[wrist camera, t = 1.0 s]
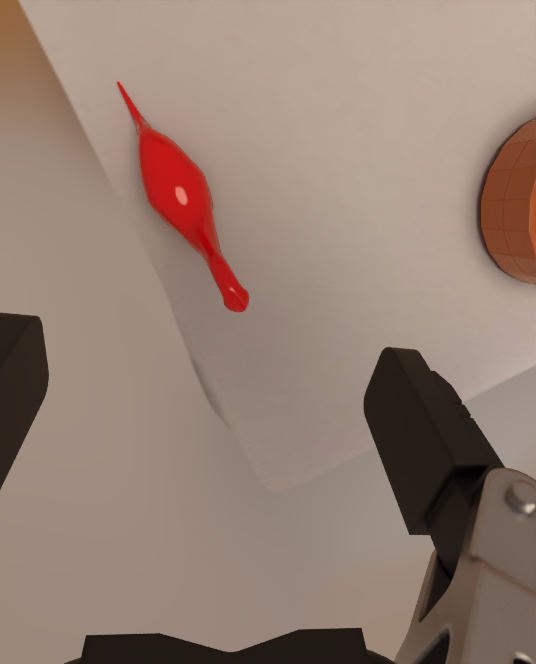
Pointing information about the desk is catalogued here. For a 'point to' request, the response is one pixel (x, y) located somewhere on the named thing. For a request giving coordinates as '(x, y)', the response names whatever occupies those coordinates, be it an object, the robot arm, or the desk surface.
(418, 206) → the desk surface
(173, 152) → the dinosaur
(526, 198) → the terracotta bowl
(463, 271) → the desk surface
